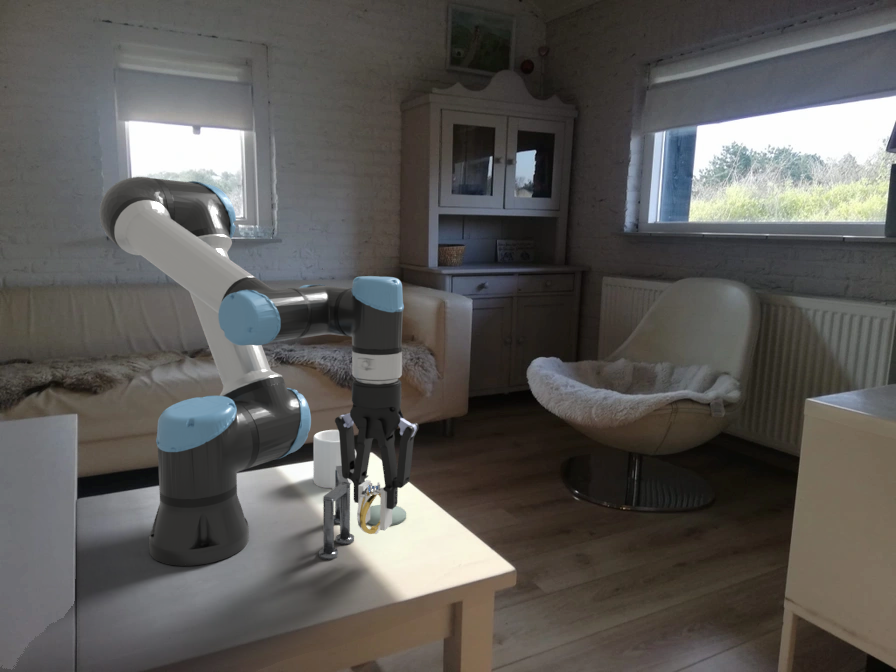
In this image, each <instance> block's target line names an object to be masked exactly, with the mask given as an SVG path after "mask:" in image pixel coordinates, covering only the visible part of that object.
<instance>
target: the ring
mask: <svg viewBox="0 0 896 672" xmlns="http://www.w3.org/2000/svg"><path fill="white" fill-rule="evenodd" d="M382 488H383V487H381V483H380V482H379V481H378V482H377V484H376V485H373V483H372V482H371V483H370V485H368V486H366V487H365V488H364V489H363V491H362V494H361V496H360V500H359V505H358V504H357V505H358V506H357V511H356V512H357V515H356V520H357V525H358V524H359V525H358V527H359V529H360V530H361V531H362V532H364V533H366V534H368V535H369V534H370V535H377V534H378V533H379V532H380V531H381V530H380V521H379V522H378V524H377V525H376V526H375V525H371V527H370V528H368V526H367V523H366V522H365V519H366V514H367V511H368V509H369V507H371V505H372V503H373V502H374V501H375V499H376V498H377V496H379V498H380V499H381V489H382ZM370 494H371V497H370V498H369V499H368V500H367V502H366V503H365V505H364V502H365V498H366V495H367V496H369V495H370Z"/></svg>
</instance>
